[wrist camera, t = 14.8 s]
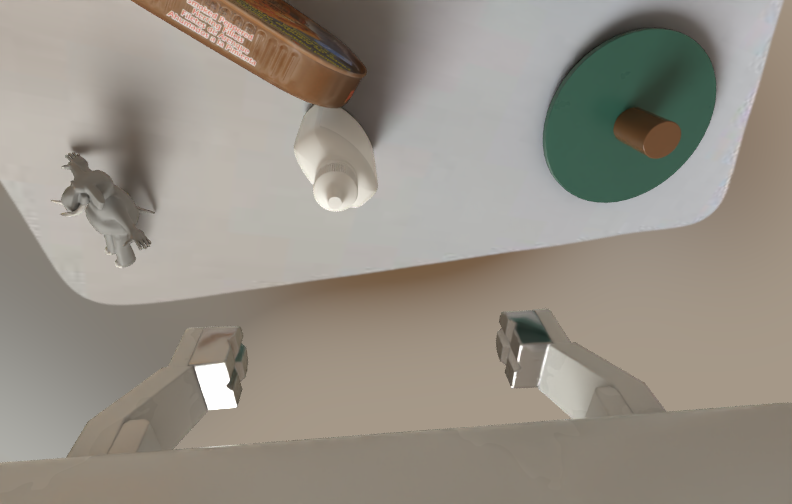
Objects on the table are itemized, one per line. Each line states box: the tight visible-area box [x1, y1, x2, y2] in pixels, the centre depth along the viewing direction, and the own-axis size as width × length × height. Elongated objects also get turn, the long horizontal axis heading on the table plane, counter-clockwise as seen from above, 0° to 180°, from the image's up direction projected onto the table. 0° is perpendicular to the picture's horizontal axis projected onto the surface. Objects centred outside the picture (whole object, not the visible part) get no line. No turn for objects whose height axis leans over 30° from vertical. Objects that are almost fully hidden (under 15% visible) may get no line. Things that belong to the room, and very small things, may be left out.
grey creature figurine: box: [51, 152, 155, 268], centre depth 31 cm, size 10×6×9 cm
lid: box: [543, 28, 716, 203], centre depth 31 cm, size 13×13×5 cm
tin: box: [131, 0, 367, 108], centre depth 24 cm, size 15×3×8 cm, turn 57°
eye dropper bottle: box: [294, 105, 378, 212], centre depth 27 cm, size 4×6×12 cm
